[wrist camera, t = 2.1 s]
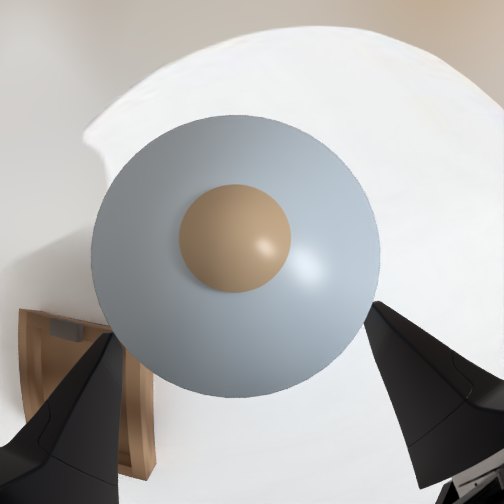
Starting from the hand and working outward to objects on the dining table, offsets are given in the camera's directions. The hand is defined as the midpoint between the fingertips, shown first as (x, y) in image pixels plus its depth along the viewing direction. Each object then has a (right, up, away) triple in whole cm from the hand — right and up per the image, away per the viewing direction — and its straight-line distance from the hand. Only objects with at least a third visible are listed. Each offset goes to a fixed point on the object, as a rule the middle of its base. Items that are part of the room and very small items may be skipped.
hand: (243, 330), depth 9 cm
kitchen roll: (-1, 0, +10) cm, 10 cm away
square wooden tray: (-12, -8, +7) cm, 16 cm away
